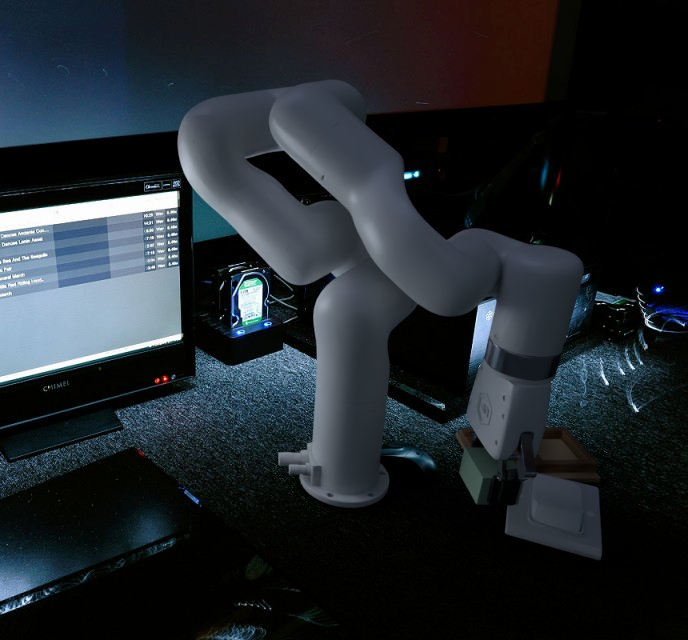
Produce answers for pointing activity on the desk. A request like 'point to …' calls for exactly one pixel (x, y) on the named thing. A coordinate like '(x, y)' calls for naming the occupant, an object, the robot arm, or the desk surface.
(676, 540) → the desk surface
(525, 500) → the light switch
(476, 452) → the green rectangular block
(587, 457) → the brown wooden tray
